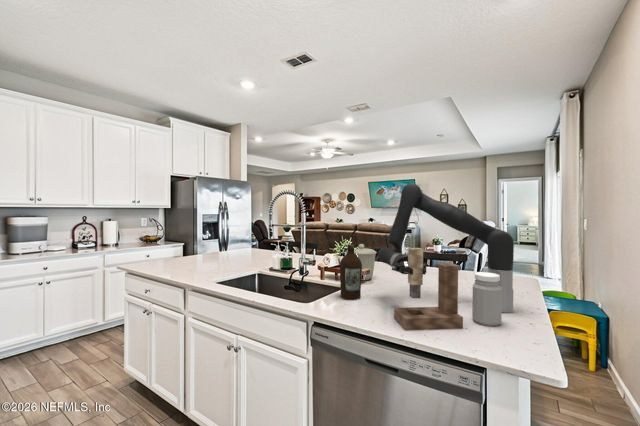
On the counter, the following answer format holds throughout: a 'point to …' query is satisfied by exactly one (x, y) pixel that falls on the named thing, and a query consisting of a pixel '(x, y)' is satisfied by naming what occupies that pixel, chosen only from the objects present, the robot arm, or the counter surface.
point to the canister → (366, 259)
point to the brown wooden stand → (436, 316)
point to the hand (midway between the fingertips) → (418, 271)
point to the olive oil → (350, 275)
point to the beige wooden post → (415, 271)
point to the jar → (487, 299)
